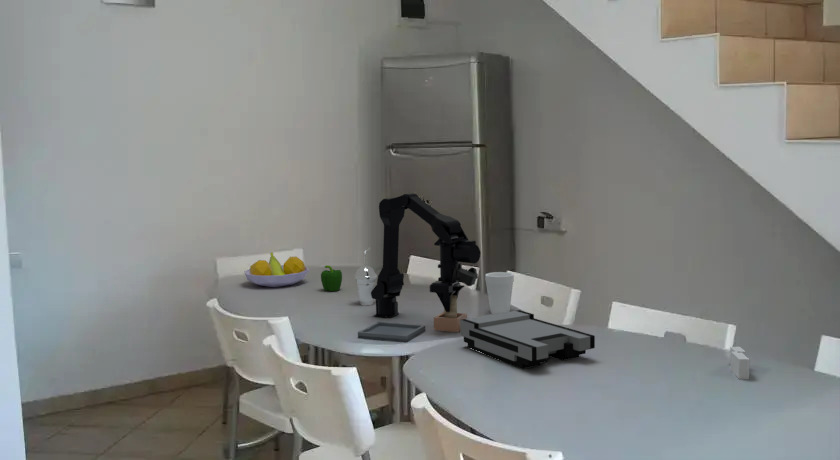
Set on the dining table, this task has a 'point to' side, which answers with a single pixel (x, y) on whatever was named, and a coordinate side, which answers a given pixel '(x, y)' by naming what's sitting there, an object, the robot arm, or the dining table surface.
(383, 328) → the charcoal tray
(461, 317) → the terracotta square frame
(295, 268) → the fruit bowl
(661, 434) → the dining table surface
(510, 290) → the foam cup
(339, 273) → the bell pepper
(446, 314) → the dowel pin
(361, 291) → the cup with straw
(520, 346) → the game console
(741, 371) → the napkin holder
